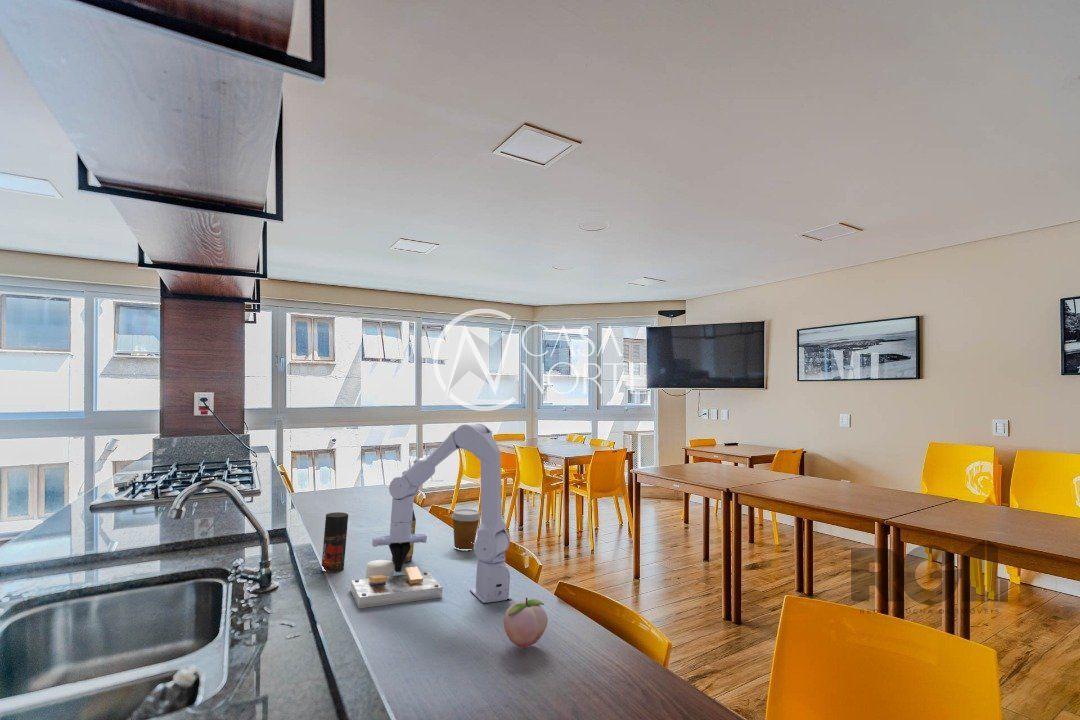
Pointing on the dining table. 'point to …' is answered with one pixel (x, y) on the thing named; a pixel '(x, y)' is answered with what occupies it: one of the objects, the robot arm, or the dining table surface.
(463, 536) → the disposable coffee cup
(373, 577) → the paddle
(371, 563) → the white egg-shaped stone
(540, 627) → the decorative fruit
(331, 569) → the deodorant
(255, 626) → the dining table surface
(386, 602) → the breaker panel
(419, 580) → the paddle
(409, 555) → the sauce bottle
